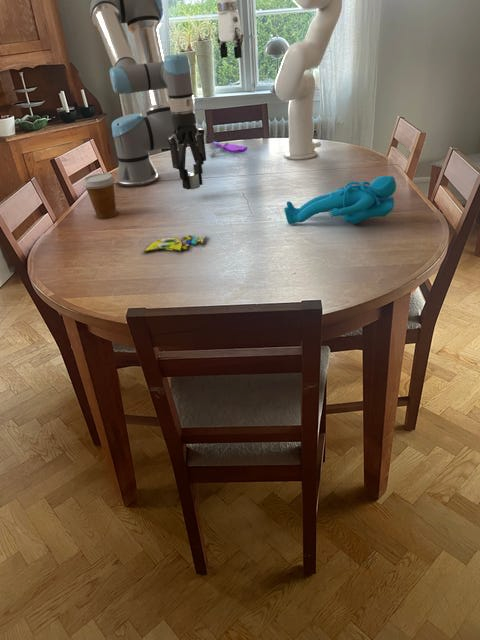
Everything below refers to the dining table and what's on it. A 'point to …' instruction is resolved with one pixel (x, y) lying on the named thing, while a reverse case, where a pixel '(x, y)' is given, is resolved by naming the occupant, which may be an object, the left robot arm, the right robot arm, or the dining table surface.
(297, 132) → the right robot arm
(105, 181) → the disposable coffee cup
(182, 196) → the dining table surface
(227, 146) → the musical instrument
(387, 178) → the toy
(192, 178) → the canister
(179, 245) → the toy
